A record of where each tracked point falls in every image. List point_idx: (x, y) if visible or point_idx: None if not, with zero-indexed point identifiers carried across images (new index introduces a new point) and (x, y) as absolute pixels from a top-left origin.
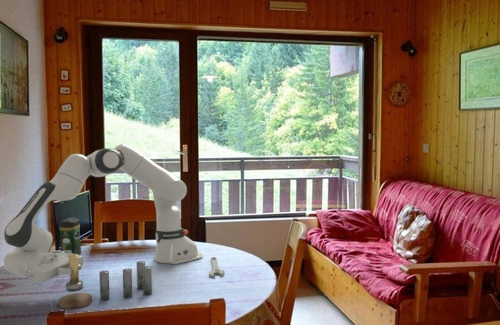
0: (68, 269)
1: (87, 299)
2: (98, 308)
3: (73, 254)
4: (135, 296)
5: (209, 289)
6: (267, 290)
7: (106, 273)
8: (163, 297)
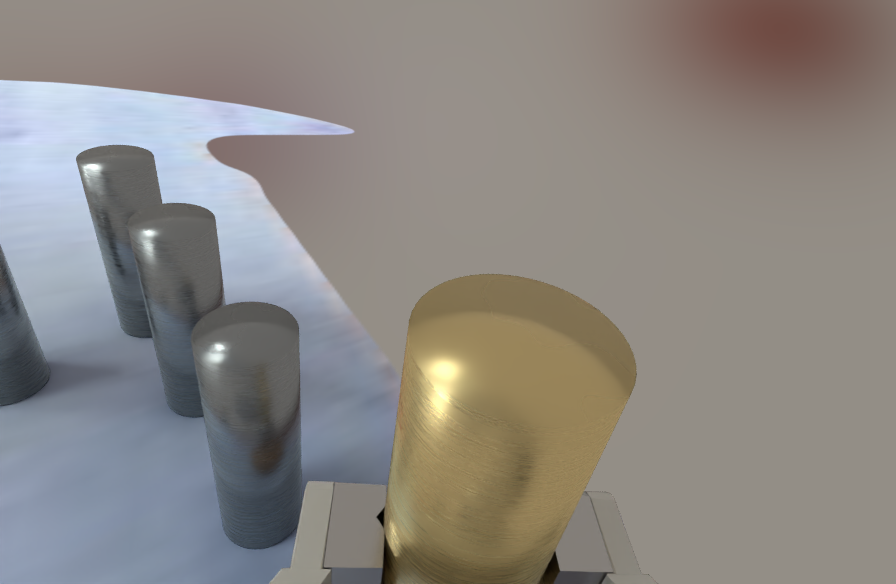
0: (620, 516)
1: None
2: None
3: (487, 361)
4: None
5: None
6: (138, 92)
7: (277, 310)
8: None
